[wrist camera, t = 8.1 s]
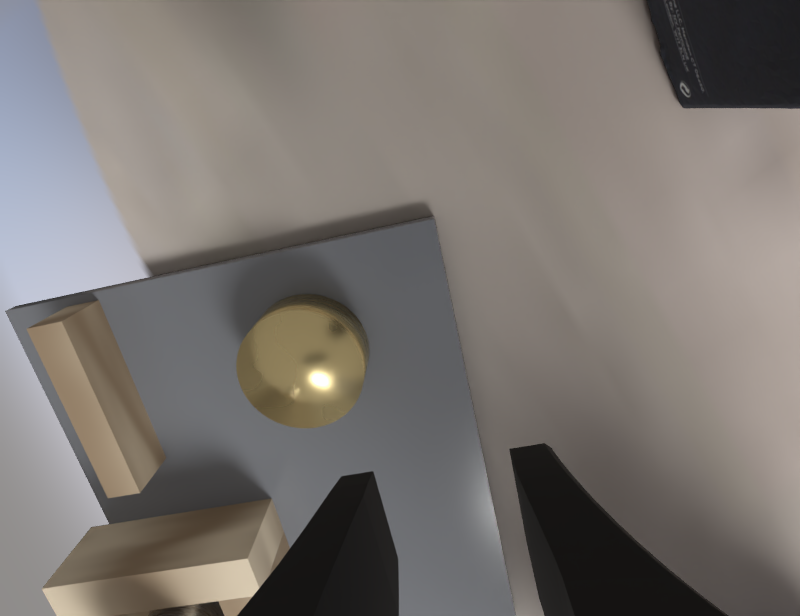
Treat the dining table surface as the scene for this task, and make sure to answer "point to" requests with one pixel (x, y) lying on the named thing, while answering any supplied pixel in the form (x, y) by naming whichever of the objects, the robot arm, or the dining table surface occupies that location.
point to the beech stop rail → (99, 396)
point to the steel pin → (191, 610)
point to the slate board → (322, 446)
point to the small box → (731, 51)
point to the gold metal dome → (304, 361)
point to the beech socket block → (171, 562)
